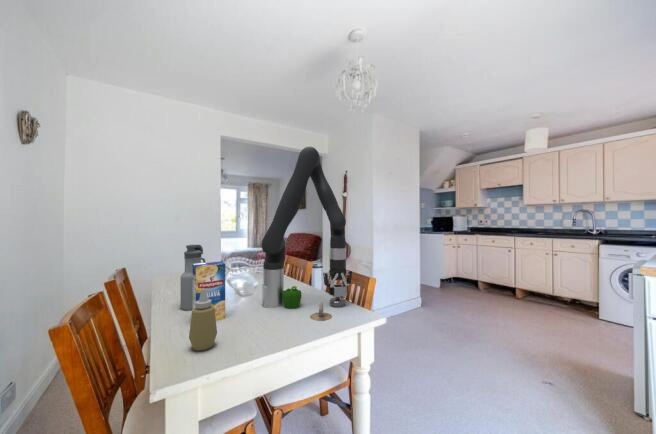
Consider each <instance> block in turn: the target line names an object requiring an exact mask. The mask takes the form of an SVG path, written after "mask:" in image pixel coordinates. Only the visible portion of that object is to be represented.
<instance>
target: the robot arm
mask: <svg viewBox="0 0 656 434" xmlns="http://www.w3.org/2000/svg"><path fill="white" fill-rule="evenodd" d="M309 179H311V180H312V183H313V186H314V189H315V191H316V194H317V196H318V197H317V198H318V199H319V201H320V204H321V207H322V208H323V210H324V212H325V214H326V216H327V219H328V221H329V226H330V227H329V228H330V239H329V240H330V241H329V270H328V272H323V273H322V276H323V284H324V286H326V287H328V295H329V296H331V297H334V296H333V287H332V286H333V284H336V281H341V284H343V285H344V286H346V287H347V288H348V285H351V284H352V278H353V277H352V276H353V271H352V270H349V269H348V270H347V251H346V235H345V234H346V233H345V227H346V224H347V220H346V218H345V215H344V213H343V211H342V210H341V208H340V206H339V203H338V200H337V198H336V195H335V194H334V191H333V189H332V188H331V186H330V184H329V182H328V180H327V178H326V176H325V173H324V170H323V167H322V164H321V156H320V153H319V152H318V150H317V149H316V148H315V147H313V146H305V147H303V149H302V150H300V152H299V155H298V158H297V161H296V164H295V168H294V170H293V173H292V175H291V177H290V179H289V180H288V183H287V185H286V187H285V189H284V191H283V192H282V196H281V198H280V200H279V203H278V206H277V208H276V210H275V213H274V216H273V218H272V222H271V223H270V226H269V228H268V229H267V231H266V233H265V234H264V236H263V238H262V240H261V248H262V250H263V252H264V253H265V256H264V261H263V269H262V270H263V271H262V272H263V275H262V277H263V280H262V292H261V293H262V295H261V296H262V298H261V301H262V306H263V308H264V309H266V308H267V309H268V308H269V309H274V308H275V309H276V308H279V307H282V306H284V303H283V299H282V293H283V291H285V289H284V288H285V287H284V286H285V285H284V284H285V283H284V281H285V277H284V275H285V273H284V269H285V267H284V266H285V259H286V240H285V238H284V237H285V234H286V232H287V229H288V227H289V225H291V223H292V221H293V220H294V218H295V216H296V215H297V213H298V211H299V210H300V208H301V206H302V203H303V200H304V199H305V194H306V190H307V185H308V182H309ZM345 276H346V277H345ZM329 277H330V278H329Z"/></svg>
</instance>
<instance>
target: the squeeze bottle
mask: <svg viewBox="0 0 656 434" xmlns="http://www.w3.org/2000/svg"><path fill="white" fill-rule="evenodd" d="M190 315H191V316H190V324H189V335H188V339H189V341H190V345H191V347H192V349H193V350H194V351H199V352H200V351H205V350H208V349H211V348H212V347H213V346H214V344H215V340H216V337H217V335H218V330H217V329H218V327H217V320H216V317H215V308H214V307H213V306H211V300H210V299H208V298H207V294H206V290H205V289H202V290H201V294H200V298H199V300H198V301H196V302H195V308H194V309H193V310H191V314H190Z"/></svg>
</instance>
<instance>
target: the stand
mask: <svg viewBox="0 0 656 434" xmlns="http://www.w3.org/2000/svg"><path fill="white" fill-rule="evenodd" d="M309 318H310V319H311V320H312V321H317V322H325V321H330V320H331V319H332V318H333V315H332V314H330V313H328V312H324V302H322V301H321V302H318V312H315V313H311V314H310V315H309Z"/></svg>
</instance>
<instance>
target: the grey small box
mask: <svg viewBox="0 0 656 434" xmlns="http://www.w3.org/2000/svg"><path fill="white" fill-rule="evenodd" d="M332 287H333V296H332V297H333V298H334V297H346V296H347V295H348V286H347V287H346V286H344V285H343V283H334V284H333V286H332Z"/></svg>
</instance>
